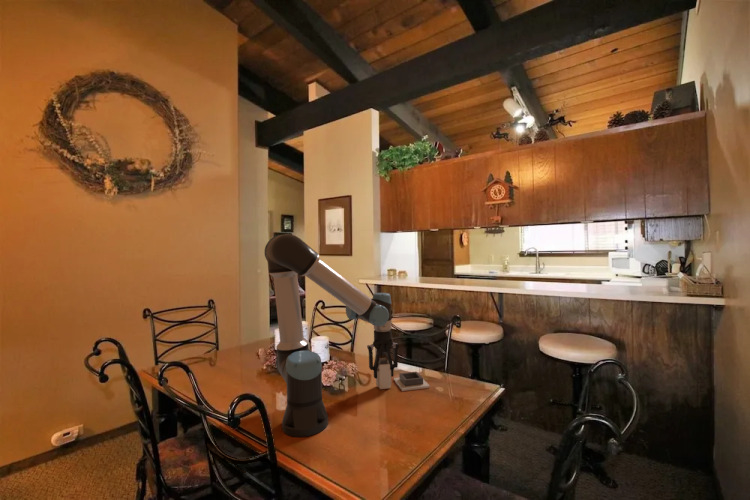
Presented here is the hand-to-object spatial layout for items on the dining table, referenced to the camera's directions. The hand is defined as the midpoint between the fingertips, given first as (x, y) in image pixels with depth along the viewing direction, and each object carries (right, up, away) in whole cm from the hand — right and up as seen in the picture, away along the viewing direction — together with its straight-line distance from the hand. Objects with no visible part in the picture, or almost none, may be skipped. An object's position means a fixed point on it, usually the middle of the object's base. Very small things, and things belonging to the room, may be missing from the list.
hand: (383, 384), depth 142 cm
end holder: (+12, -1, +3) cm, 12 cm away
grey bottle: (0, -1, 0) cm, 1 cm away
